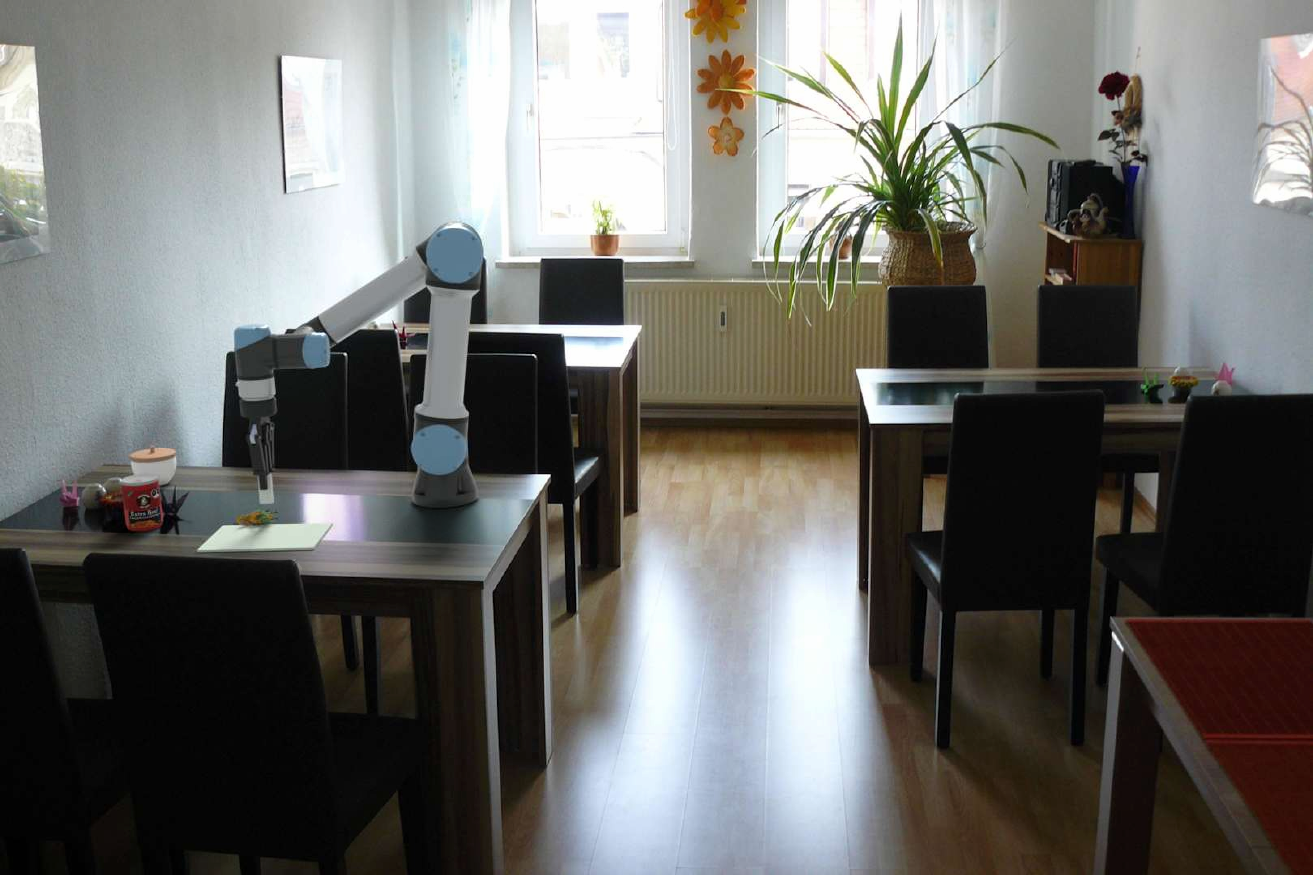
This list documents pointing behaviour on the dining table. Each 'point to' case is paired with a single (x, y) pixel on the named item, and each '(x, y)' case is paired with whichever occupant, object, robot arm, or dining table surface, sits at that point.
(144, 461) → the lidded jar
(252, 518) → the figurine
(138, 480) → the canned food
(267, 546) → the mat
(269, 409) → the robot arm
